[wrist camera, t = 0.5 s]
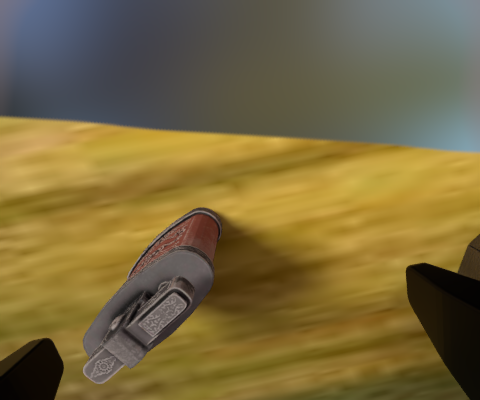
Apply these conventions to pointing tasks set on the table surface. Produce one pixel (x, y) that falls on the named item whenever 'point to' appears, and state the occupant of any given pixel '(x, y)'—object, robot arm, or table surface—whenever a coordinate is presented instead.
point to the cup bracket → (471, 260)
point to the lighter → (154, 295)
